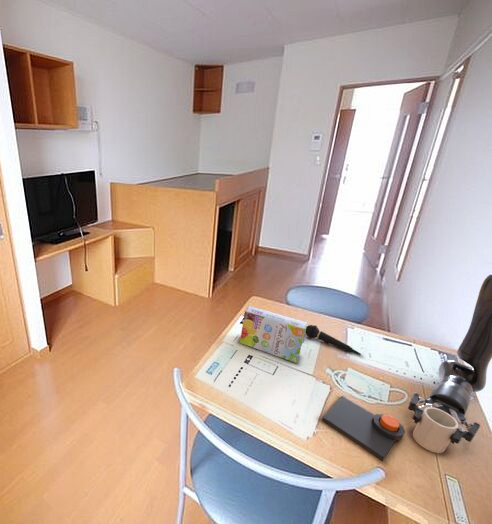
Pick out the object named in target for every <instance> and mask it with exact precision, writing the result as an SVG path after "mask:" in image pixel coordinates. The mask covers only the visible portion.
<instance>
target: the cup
mask: <svg viewBox="0 0 492 524" xmlns="http://www.w3.org/2000/svg"><path fill="white" fill-rule="evenodd" d="M458 426H459V425H458V422H457V421H456V420H455V419H454V417H452V416H451V415H450V414H448V413H446V412H444V411H442V410H440V409H437V408H434V407H427V408H425V409H424V411H423V413H422V416H421V418H420V420H419V422H418V423H416V425H415V428H414V430H413V432H412V437H413V439H414V441H415V442H416V443H417V444H418V445H420V446H421V447H422V448H423V449H425V450H427V451H429V452H432V453H436V454H442V453H444V452H445V451H446V449H447V448H448V446H449V444H450V443H451V442H450V441H451V439H452V437H453V435H454V433H455V432H456V430H457V428H458Z"/></svg>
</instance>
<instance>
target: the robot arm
mask: <svg viewBox="0 0 492 524" xmlns="http://www.w3.org/2000/svg"><path fill="white" fill-rule="evenodd" d="M473 309H474V310H473V314H472V317H471V321H470V325H469V327H468V329H467V331H466V334H465V336H464V338H463V339H462V341H461V343H460V344H459V346H458V348H457V351H456V356H457V357H458V358H459V359H460V360H462V361H463V362H464V363H466V364H468V365H469V366H468V365H466V364H464V363H461V362H459V361H456V360H453V359H446V360H444V361H442V362H441V363H440V364H439V366H438V379H439V381H438V383H437V385H436V386H435V387H434V389H433V390H432V392H431V394H430V396H429V397H428V398H423V397H421V396H420V394H419V393H417V392H414V393H413V395H412V396H411V399H410V401H409V404H408V406H407V409H408V410H409V411H411V412H414V413H413V415H412V417H411V419H412V420H413V423H414V424H417V423H418V422H419V420H420V418H421V416H422V413H423V411H424V409H425V408H427V407H434V408H437V409H440V410H442V411H444V412H446V413H448V414H450V415H451V416H452V417H454V419H455V420H456V421H457V422H458V425H459V426H458V428H457V430H456V432H455V433H454V435H453V437H452V439H451V440H450V442H449V443H451V444H453V445H454V444H456V445H458V444H459V443H460V441H461V440H462V439H464V440H465V441H467V442H469V443H471V442H472V441H473V439H474V438H475V436H476V435H477V433H478V431H479V429H480V428H481V424H480V423H479V422H475V421H474V422H473V423H472V422H471V421H469V420H467V418H466V417H465V415H466V413H467V411H468V408H469V406H470V402H471V397H472V394H473V393H478V392H480V391H483V390H484V389H485V387H486V383H487V371H488V366H489V364H490V362H491V360H492V273H490V274H488V275H487V276H486V277H485V279H484V280H483V281H482V284H481V286H480V288H479V292H478V296H477V299H476V303H475V306H474V308H473ZM419 404H423V405H420V406H418V405H419ZM463 425H464V426H465V428H466V429H464V427H463Z"/></svg>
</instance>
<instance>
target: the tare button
mask: <svg viewBox="0 0 492 524" xmlns="http://www.w3.org/2000/svg"><path fill="white" fill-rule="evenodd" d="M399 423H400V421H398V420H397V419H396V418H395V417H393V416H391V415H390V414H389V415H388V414H384V415H382V417H381V419H380V424H381V425H382V426H383V427H384V428H385V429H387V430H389V431H392V432H396V431H397V430H398V428H399V426H400V424H401V423H400V424H399Z"/></svg>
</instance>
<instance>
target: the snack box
mask: <svg viewBox="0 0 492 524" xmlns="http://www.w3.org/2000/svg"><path fill="white" fill-rule="evenodd" d="M307 326H308V322H307V321H303V320H300V319H296V318H293V317H289V316H286V315H283V314H279V313H276V312H272V311H269V310H265V309H261V308H259V307H258V308H257V307H255V306H251V305H248V306H247V307H246V309H245V310H244V313H243V319H242V327H241V333H240V339H239V344H242V345H245V346H247V347H251V348H254V349H256V350H259V351H262V352H264V353H268V354H270V355H273V356H275V357H278V358H281V359H284V360H286V361H290V362H292V363H295V364H298V361H299V358H300V356H301V355H300V354H301V350H302V348H303V347H302V346H303V342H304V338H305V335H306V333H305V331H306V327H307Z"/></svg>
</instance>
